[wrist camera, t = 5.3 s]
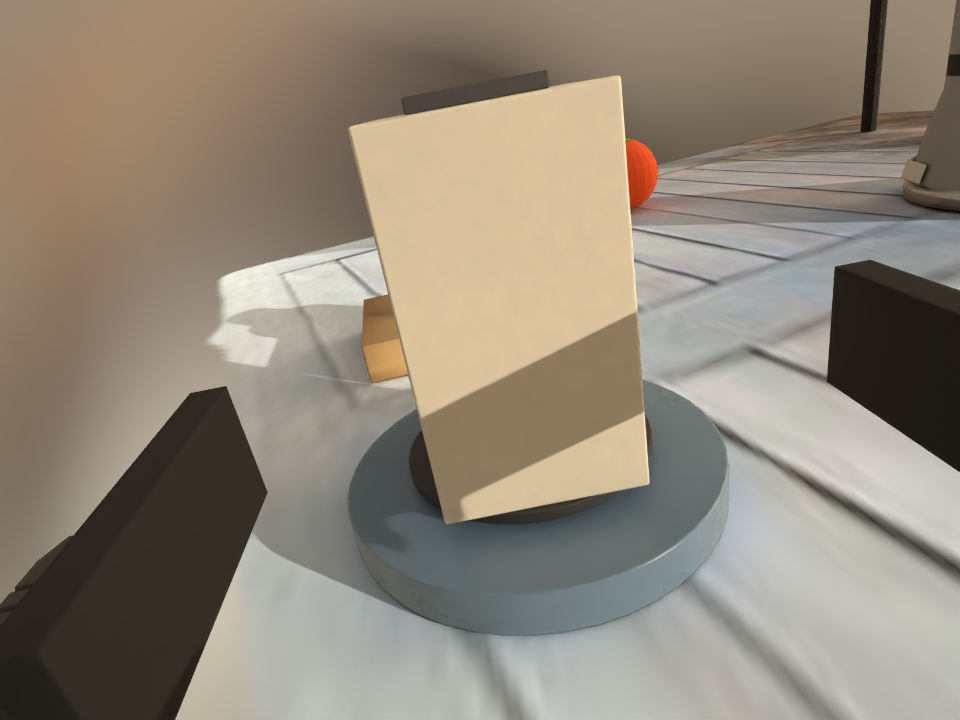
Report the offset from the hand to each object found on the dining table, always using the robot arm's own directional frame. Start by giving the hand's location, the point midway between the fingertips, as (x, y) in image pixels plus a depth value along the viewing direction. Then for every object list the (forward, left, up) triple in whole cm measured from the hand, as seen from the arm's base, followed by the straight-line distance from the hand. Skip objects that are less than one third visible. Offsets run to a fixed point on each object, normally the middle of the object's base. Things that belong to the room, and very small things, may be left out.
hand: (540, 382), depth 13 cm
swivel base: (-1, -6, -7) cm, 10 cm away
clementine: (-22, -48, -8) cm, 53 cm away
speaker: (-1, -6, -6) cm, 8 cm away
